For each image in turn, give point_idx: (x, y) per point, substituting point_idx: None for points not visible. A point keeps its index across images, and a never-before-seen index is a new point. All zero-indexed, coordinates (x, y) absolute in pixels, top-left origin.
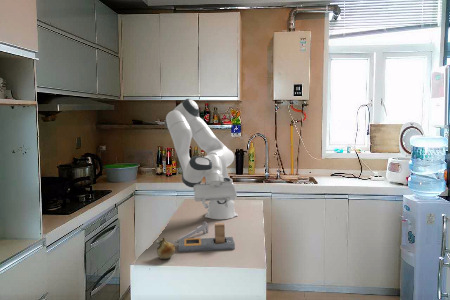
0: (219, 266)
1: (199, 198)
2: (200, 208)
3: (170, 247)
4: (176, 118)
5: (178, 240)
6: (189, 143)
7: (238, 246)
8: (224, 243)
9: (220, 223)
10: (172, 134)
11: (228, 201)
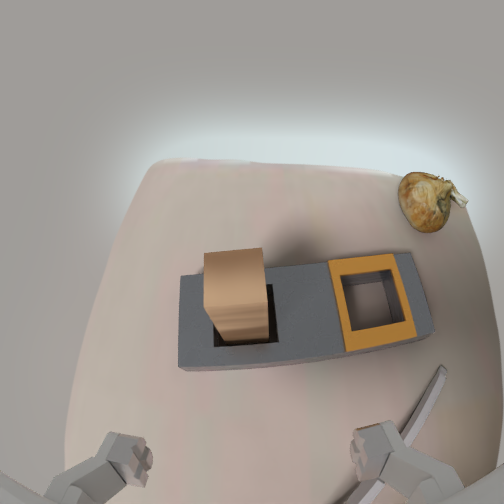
0: (251, 163)
1: (491, 474)
2: None
3: (408, 174)
4: None
5: (438, 373)
6: None
7: (167, 315)
8: None
9: (226, 290)
10: None
11: (78, 465)
